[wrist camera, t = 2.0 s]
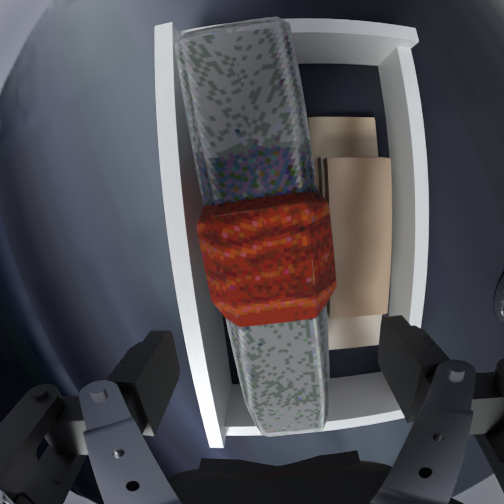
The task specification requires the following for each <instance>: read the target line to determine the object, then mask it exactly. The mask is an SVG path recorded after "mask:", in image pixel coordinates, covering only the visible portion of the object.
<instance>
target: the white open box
mask: <svg viewBox="0 0 504 504" xmlns="http://www.w3.org/2000/svg"><path fill="white" fill-rule="evenodd" d="M283 20H285V21H287V22H289V23H290V27H291V32H292V37H293V42H294V46H295V51H296V57H297V62H298V64H308V63H332V64H360V65H375V66H378V70H379V76H380V82H381V88H382V95H383V102H384V109H385V117H386V126H387V135H388V146H389V158H391V178H392V269H391V289H390V304H389V316H397V315H402V316H403V317H404V318H405V319H406V320H407V321H408V323H409V324H410V325H411V326H413V325H415V326H417V327H419V328H421V322H422V315H423V306H424V297H425V287H426V275H427V260H428V237H429V191H428V168H427V154H426V142H425V132H424V123H423V115H422V108H421V101H420V94H419V88H418V83H417V77H416V72H415V67H414V62H413V57H412V53H411V48H412V47H413V46H414V45H416V44H417V43H418V42H419V40H418V36H417V32H416V28H411V27H406V26H399V25H393V24H385V23H377V22H368V21H357V20H343V19H315V18H298V19H283ZM227 24H228V23H227ZM220 25H222V24H220ZM213 26H217V25H213ZM207 27H212V26H206V27H200V28H195V29H189V30H184V31H178V29H177V28H176V26H175V25H174V24H173V22H170V23H166V24H161V25H157V26H155V89H156V113H157V130H158V145H159V158H160V169H161V180H162V190H163V200H164V209H165V217H166V226H167V234H168V241H169V249H170V256H171V263H172V269H173V276H174V282H175V288H176V294H177V300H178V306H179V312H180V317H181V323H182V328H183V333H184V339H185V344H186V349H187V354H188V358H189V363H190V368H191V372H192V377H193V381H194V386H195V390H196V395H197V399H198V403H199V407H200V411H201V415H202V419H203V423H204V427H205V431H206V435H207V438H208V442H209V446H210V447H211V448H224V444H225V438H226V435H232V436H249V435H262V434H261V433H260V431H259V430H258V428H257V427H256V425H255V423H254V421H253V419H252V417H251V415H250V413H249V411H248V408H247V406H246V404H245V401H244V397H243V393H242V389H241V385H240V384H232V380H231V373H230V366H229V359H228V352H227V345H226V338H225V331H224V323H223V316H222V313H221V312H220V311H219V309H218V308H217V307H216V306H215V304H214V303H213V302H212V300H211V296H210V291H209V287H208V282H207V277H206V272H205V268H204V263H203V258H202V253H201V248H200V243H199V238H198V233H197V228H196V225H197V223H198V220H199V217H200V214H201V211H202V209H203V206H204V205H203V201H202V196H201V191H200V186H199V181H198V176H197V171H196V165H195V160H194V155H193V150H192V144H191V139H190V134H189V128H188V123H187V117H186V111H185V106H184V100H183V94H182V88H181V82H180V76H179V70H178V64H177V57H176V51H175V43H176V42H177V41H178V40H179V39H180V37H181V36H182V35H183V34H184V33H186V32H190V31H194V30H198V29H203V28H207ZM389 316H388V317H389ZM401 418H405V417H404V415H403V413H402V411H401V409H400V407H399V405H398V403H397V401H396V399H395V397H394V395H393V393H392V391H391V389H390V387H389V385H388V383H387V381H386V379H385V377H384V375H383V373H382V372H375V373H369V374H362V375H354V376H346V377H338V378H330V396H329V410H328V418H327V421H326V424H325V426H324V429H323V430H322V431H329V430H337V429H344V428H351V427H358V426H364V425H370V424H376V423H381V422H386V421H391V420H396V419H401ZM318 432H319V431H318Z"/></svg>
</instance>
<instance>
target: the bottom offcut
mask: <svg viewBox="0 0 504 504" xmlns="http://www.w3.org/2000/svg"><path fill="white" fill-rule="evenodd" d="M307 120H308V126H309V133H310V140H311V147H312V154H313V162H314V170H315V178H316V186H317V189H318V191H319V179H318V161H317V158H319V157H378V148H377V136H376V125H375V118H372V117H308V119H307Z"/></svg>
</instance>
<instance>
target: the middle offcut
mask: <svg viewBox="0 0 504 504" xmlns="http://www.w3.org/2000/svg"><path fill="white" fill-rule="evenodd" d="M325 158H385V157H319V158H317V161H318V179H319V192H320V193H321V195H322V196H323V197H324V198H325V183H324V164H323V159H325ZM381 320H382V314H379V315H369V316H359V317H348V318H336V319H329V316H328V314H327V321H328V341H329V350H334V349H345V348H355V347H364V346H373V345H379V337H380V326H381Z"/></svg>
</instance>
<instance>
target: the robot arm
mask: <svg viewBox="0 0 504 504" xmlns="http://www.w3.org/2000/svg"><path fill="white" fill-rule="evenodd" d="M494 309H495V313H496V315H497V317H498V318H499V319H500V320H501V321H502V322H504V275H503V276H502V278H501V280H500V282H499V284H498V287H497V290H496V294H495V299H494ZM378 364H379V367H380V369H381V371H382V373H383V375H384V377H385V379H386V381H387V383H388V385H389V387H390V389H391V391H392V393H393V395H394V397H395V399H396V401H397V403H398V405H399V407H400V409H401V411H402V413H403V415H404V417H405V419H406V421H407V423H409V422H413V421H414V423H413V426H412V428H411V430H410V432H409V434H408V437H407V439H406V441H405V443H404V445H403V447H402V449H401V451H400V453H399V455H398V457H397V459H396V461H395V463H394V465H393V467H391V466H389V465H385V464H382V463H377V462H371V461H360V459H359V455H358V452H357V451H351V452H344V453H337V454H329V455H320V456H317V457H313V458H310V459H306V460H303V461H299V462H295V463H292V464H288V465H284V466H273V465H266V464H260V463H254V462H249V461H244V460H232V459H206V458H201V463H200V467H199V469H193V470H188V471H184V472H181V473H177V474H175V475H172V476H170V477H168V478H165V476H164V474H163V473H162V471H161V469H160V467H159V466H158V464H157V462H156V460H155V459H154V457H153V455H152V453H151V451H150V449H149V448H148V446H147V444H146V442H145V440H144V438H143V436H142V435H148V436H155V434H156V431H157V429H158V427H159V424H160V422H161V419H162V417H163V415H164V412H165V410H166V408H167V405H168V403H169V401H170V398H171V396H172V394H173V391H174V389H175V387H176V384H177V382H178V379H179V373H180V369H179V362H178V358H177V354H176V349H175V344H174V340H173V335H172V333H171V331H158V330H152V331H150V332H149V334H148V335H147V337H146V338H145V339H144V341H143V342H139V343H137V344H136V345H134V346H133V347H131V348H130V349H129V350H128V351H127V353H126V354H125V355H124V357H123V358H122V359H121V361H120V363H118V365H117V366H116V367H115V369H114V370H113V371H112V373H111V374H110V375H109V377H108V378H107V379H106V380H102V381H96V382H93V383H90V384H88V385H86V386H85V387H84V388H83V389H82V390H81V391H80V393H79V396H72V397H61V395H60V392H59V390H58V388H57V387H56V386H54V385H51V384H43V385H39V386H36V387H34V388H32V389H31V390H29V391H28V392H27V393H26V395H25V396H24V397H23V398H22V399H21V400H20V401H19V403H18V404H17V405H16V406H15V407H14V408H13V409H12V411H11V412H10V413H9V414H8V415H7V417H6V418H5V419H4V420H3V421H2V422H1V424H0V504H63V503H64V501H65V499H66V497H67V495H68V492H69V490H70V488H71V486H72V484H73V482H74V480H75V478H76V476H77V474H78V472H79V470H80V468H81V466H82V464H83V462H84V460H85V458H86V456H87V455H89V458H90V461H91V465H92V468H93V471H94V474H95V478H96V481H97V484H98V487H99V490H100V492H101V495H102V498H103V501H104V503H105V504H463V503H461V502H459V501H457V500H455V499H453V498H451V495H452V492H453V490H454V487H455V484H456V481H457V477H458V474H459V471H460V468H461V464H462V461H463V457H464V453H465V449H466V445H467V441H468V437H469V435H474V436H475V438H476V440H477V441H478V443H479V445H480V447H481V449H482V451H483V452H484V454H485V456H486V458H487V460H488V462H489V464H490V466H491V468H492V470H493V472H494V474H495V476H496V478H497V480H498V482H499V484H500V486H501V488H502V490H503V492H504V358H503V359H501V360H500V361H499V362H498V363H497V366H496V369H495V372H491V373H476V370H475V368H474V367H473V366H472V365H471V364H469V363H467V362H465V361H461V360H450V359H449V358H448V356H447V355H446V354H445V353H444V352H443V351H442V349H441V348H440V347H439V346H438V345H437V344H436V343H435V342H434V340H433V339H431V337H430V336H429V335H428V334H427V333H426V332H425V331H424V330H423V329H421V328H419V327H417V326H415V325H413V326H411V325H410V324H409V323H408V321H407V320H406V319H405V318H404V317H403V316H402V315H397V316H389V317H383V318H382V320H381V326H380V337H379V346H378ZM44 436H45V438H46V440H47V441H48V443H49V446H48V447H47V449H46V450H45V452H44V454H43V455H42V457H41V458H40V460H39V461H38V460H37V457H36V449H37V447H38V445H39V444H40V442H41V441H42V439H43V438H44Z"/></svg>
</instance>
